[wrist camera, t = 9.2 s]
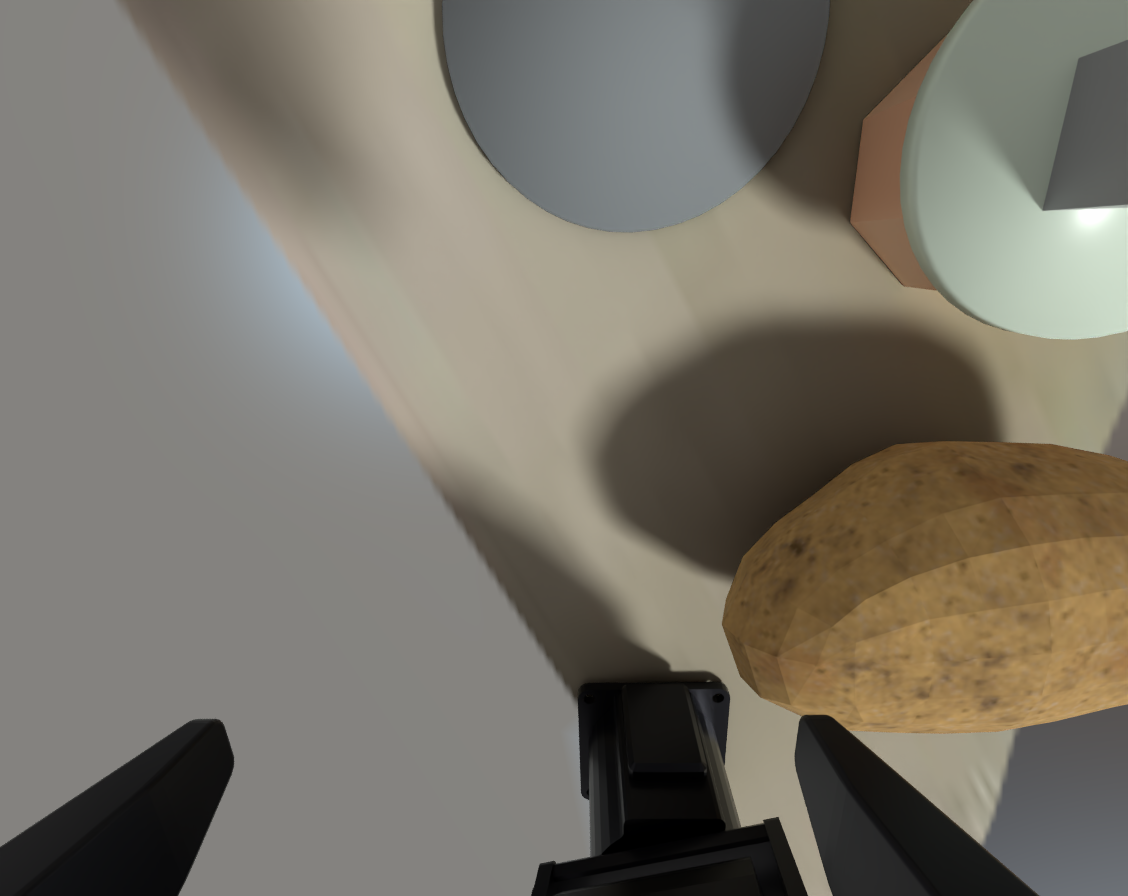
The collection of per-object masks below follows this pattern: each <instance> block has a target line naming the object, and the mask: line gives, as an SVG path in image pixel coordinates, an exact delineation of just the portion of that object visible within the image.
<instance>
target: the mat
mask: <svg viewBox="0 0 1128 896" xmlns="http://www.w3.org/2000/svg"><path fill="white" fill-rule="evenodd" d="M829 9H830V0H443V2H442V15H443V38H444V44H445V51H446V58H447V65H448V69H449V73H450V77H451V80H452V84H453V88H454V92H455V95H456V97H457V100H458V103H459V105H460V108H461V110H462V113H463V116H464V118H465V120H466V122H467V124H468V126H469V128H470V130H471V132H472V133H473V135H474V137H475V139H476V141H477V143H478V144H479V146H480V147H481V149H482V150H483V151H484V153H485V154H486V156H487V157H488V159H489V160H490V162H491V163H492V164H493V165H494V166H495V168H496V169H497V170H498V171H499V172H500V173H501V174H502V176H503V177H504V178H505V179H506V180H507V181H508V182H509V183H510V184H511V185H512V186H513V187H515V188H516V189H517V190H518V191H519V192H520V193H521V194H523V195H524V196H525V197H526V198H527V199H529V200H530V201H532V202H533V203H535V204H536V205H538V206H539V207H541V208H542V209H544V210H545V211H547V212H549V213H551V214H553V215H555V216H557V217H559V218H561V219H563V220H565V221H568V222H571V223H574V224H577V225H580V226H583V227H586V228H591V229H597V230H603V231H608V232H640V231H649V230H656V229H660V228H664V227H668V226H672V225H676V224H679V223H682V222H684V221H687V220H689V219H692V218H694V217H697V216H699V215H701V214H703V213H705V212H706V211H708V210H710V209H712V208H714V207H715V206H717V205H719V204H721V203H722V202H724V201H725V200H726V199H728V198H729V197H730V196H732V195H733V194H735V193H736V192H737V191H739V190H740V189H741V188H742V187H743V186H745V185H746V184H747V183H748V182H749V181H750V180H751V179H752V178H753V177H754V176H755V175H756V174H757V173H758V172H759V171H760V170H761V169H762V168H763V167H764V166H765V165H766V163H767V162H768V161H769V160H770V159H771V157H772V156H773V155H774V154H775V153H776V152H777V150H778V149H779V147H780V146H781V144H782V143H783V141H784V140H785V138H786V137H787V135H788V134H789V132H790V131H791V129H792V128H793V126H794V124H795V122H796V120H797V118H798V116H799V115H800V113H801V111H802V109H803V107H804V105H805V103H806V101H807V98H808V96H809V93H810V90H811V88H812V85H813V83H814V80H815V78H816V75H817V71H818V68H819V64H820V60H821V57H822V53H823V49H824V45H825V39H826V33H827V26H828V20H829Z"/></svg>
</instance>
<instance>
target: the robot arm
mask: <svg viewBox="0 0 1128 896" xmlns="http://www.w3.org/2000/svg"><path fill="white" fill-rule="evenodd" d="M718 693H719V694H720V695H718V696H714V695H715V694H718ZM589 694H590V695H593V696H592V697H587V696H586V695H589ZM729 705H730V695H729V692H728V689H727V687H726V686H725V684H723V683H720V682H665V683H587V684H584V685H582V686H581V687H580V688H579V690H578V714H579V715H578V716H579V745H580V773H581V794H582V796H583V797H584V798H586V799H588V800H589V803H590V857H587V858H582V859H577V860H572V861H567V862H562V863H557V864H556V862H555V861H551V862H546V863H541V864H540V865H539V868H538V873H537V877H536V881H535V885H534V888H533V890H532V895H531V896H808V895H807V892H806V889H805V887H804V884H803V881H802V879H801V876H800V873H799V871H798V868H797V865H796V863H795V860H794V857H793V855H792V852H791V849H790V847H789V844H788V841H787V839H786V836H785V833H784V831H783V828H782V825H781V823H780V820H779V817H776V818H771V819H766V820H763V822H764V823H761V824H756V825H751V826H746V827H741V825H740V821H739V817H738V814H737V810H736V807H735V803H734V799H733V796H732V792H731V789H730V785H729V781H728V778H727V774H726V771H725V767H724V765H725V753H726V741H727V729H728V717H729ZM795 767H796V772H797V775H798V779H799V782H800V786H801V789H802V793H803V797H804V800H805V804H806V807H807V811H808V814H809V818H810V821H811V825H812V828H813V832H814V835H815V839H816V842H817V846H818V849H819V853H820V856H821V860H822V863H823V867H824V870H825V873H826V877H827V880H828V883H829V886H830V889H831V892H832V895H833V896H1039V895H1038V894H1037V893H1036V892H1035V891H1033V890H1032V889H1031V888H1030V887H1029V886H1028V885H1026V884H1025V883H1024V882H1023V881H1022V880H1021V879H1020V878H1018V877H1017V876H1016V875H1015V874H1014V873H1013V872H1011V871H1010V870H1009V869H1008V868H1007V867H1006V866H1004V865H1003V864H1002V863H1001V862H1000V861H999V860H998V859H996V858H995V857H994V856H993V855H992V854H990V853H989V852H988V851H987V850H986V849H985V848H984V847H982V846H981V845H980V844H979V843H978V842H977V841H976V840H974V839H973V838H972V837H971V836H970V835H969V834H967V833H966V832H965V831H964V830H963V829H962V828H960V827H959V826H958V825H957V824H956V823H955V822H954V821H952V820H951V819H950V818H949V817H948V816H947V815H945V814H944V813H943V812H942V811H941V810H940V809H938V808H937V807H936V806H935V805H934V804H933V803H932V802H930V801H929V800H928V799H927V798H926V797H925V796H923V795H922V794H921V793H920V792H919V791H918V790H916V789H915V788H914V787H913V786H912V785H911V784H910V783H908V782H907V781H906V780H905V779H904V778H903V777H901V776H900V775H899V774H898V773H897V772H896V771H894V770H893V769H892V768H891V767H890V766H889V765H887V764H886V763H885V762H884V761H883V760H882V759H881V758H879V757H878V756H877V755H876V754H875V753H874V752H872V751H871V750H870V749H869V748H868V747H867V746H865V745H864V744H863V743H862V742H861V741H860V740H859V739H857V738H856V737H855V736H854V735H853V734H852V733H850V732H849V731H848V730H847V729H846V728H845V727H843V726H842V725H841V724H840V723H839V722H838V721H837V720H835V719H834V718H833V717H831V716H829V715H803V716H802V717H801V719H800V721H799V727H798V734H797V741H796V749H795ZM233 768H234V755H233V752H232V749H231V746H230V742H229V739H228V736H227V733H226V730H225V726H224V724H223V723H222V722H221V721H220V720H218V719H195V720H192V721H189V722H188V723H186V724H185V725H183V726H182V727H180V728H179V729H177V730H176V731H174V732H173V733H171V734H170V735H168V736H167V737H165V738H163V739H162V740H160V741H159V742H157V743H156V744H155V745H153V746H151V747H150V748H148V749H147V750H145V751H144V752H142V753H141V754H140V755H138V756H136V757H135V758H133V759H132V760H130V761H129V762H128V763H126V764H124V765H123V766H121V767H120V768H118V769H117V770H115V771H114V772H112V773H111V774H110V775H108V776H106V777H105V778H103V779H102V780H101V781H99V782H97V783H96V784H94V785H93V786H91V787H90V788H88V789H87V790H85V791H84V792H82V793H81V794H79V795H78V796H76V797H75V798H73V799H72V800H70V801H69V802H67V803H66V804H64V805H63V806H61V807H60V808H58V809H57V810H55V811H54V812H52V813H51V814H49V815H48V816H46V817H45V818H43V819H42V820H40V821H38V822H37V823H35V824H34V825H33V826H31V827H29V828H28V829H27V830H25V831H24V832H22V833H21V834H19V835H17V836H16V837H14V838H13V839H11V840H10V841H8V842H7V843H5V844H4V845H2V846H1V847H0V896H178V895H179V893H180V891H181V889H182V887H183V885H184V883H185V881H186V879H187V877H188V874H189V872H190V870H191V868H192V865H193V863H194V861H195V859H196V857H197V854H198V852H199V850H200V847H201V845H202V843H203V840H204V838H205V835H206V833H207V831H208V829H209V826H210V824H211V822H212V819H213V817H214V815H215V812H216V810H217V808H218V805H219V803H220V801H221V798H222V796H223V794H224V791H225V789H226V786H227V784H228V782H229V779H230V777H231V775H232V772H233Z"/></svg>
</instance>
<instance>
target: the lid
mask: <svg viewBox="0 0 1128 896" xmlns="http://www.w3.org/2000/svg"><path fill="white" fill-rule="evenodd" d="M900 202H901V209H902V215H903V221H904V227H905V230H906V233H907V236H908V240H909V243H910V246H911V249H912V251H913V253H914V255H915V257H916V259H917V261H918V263H919V265H920V268H921V269H922V271H923V272H924V274H925V275H926V276H927V278H928V279H929V281H930V282H931V284H932V285H933V286H934V287H935V289H936V290H937V291H938V292H939V293H940V294H941V295H942V296H943V297H944V298H945V299H946V300H947V301H948V302H950V303H951V304H952V305H954V306H955V307H956V308H958V309H959V310H960V311H962V312H963V313H964V314H966V315H968V316H970V317H972V318H974V319H976V320H978V321H980V322H982V323H984V324H987V325H990V326H993V327H996V328H999V329H1002V330H1006V331H1011V332H1016V333H1021V334H1026V335H1031V336H1037V337H1043V338H1049V339H1073V340H1074V339H1085V338H1096V337H1102V336H1107V335H1112V334H1116V333H1121V332H1125V331H1128V0H973V1H972V2H971V4H970V5H969V6H968V7H967V8H966V10H965V11H964V12H963V14H962V15H961V17H960V18H959V19H958V21H957V22H956V23H955V25H954V26H953V28H952V29H951V30H950V32H949V33H948V35H947V36H946V38H945V40H944V41H943V43H942V45H941V46H940V48H939V50H938V52H937V53H936V55H935V57H934V59H933V60H932V62H931V64H930V66H929V68H928V71H927V73H926V75H925V77H924V79H923V82H922V84H921V86H920V88H919V90H918V93H917V96H916V99H915V102H914V105H913V108H912V111H911V114H910V117H909V120H908V124H907V129H906V134H905V139H904V143H903V148H902V157H901V168H900Z"/></svg>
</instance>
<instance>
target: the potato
mask: <svg viewBox="0 0 1128 896" xmlns="http://www.w3.org/2000/svg"><path fill="white" fill-rule="evenodd" d="M722 626H723V629H724V632H725V635H726V637H727V640H728V643H729V646H730V649H731V652H732V654H733V657H734V660H735V663H736V666H737V669H738V671H739V674H740V677H741V678H742V679H743V680H744V681H745V682H746V683H747V684H748V685H749V686H750V687H751V688H752V689H753V690H754V691H755V692H756V693H757V694H758V695H759V696H760V697H761V698H763V699H765V700H768V701H770V702H772V703H774V704H776V705H779V706H781V707H783V708H785V709H787V710H789V711H792V712H794V713H796V714H798V715H800V716H803V715H829V716H831V717H833V718H834V719H835V720H837V721H838V722H839V723H840V724H841V725H842V726H843V727H845V728H846V729H847V730H852V731H873V732H897V733H943V734H945V733H971V732H998V731H1004V730H1009V729H1015V728H1020V727H1025V726H1031V725H1037V724H1042V723H1048V722H1053V721H1058V720H1062V719H1066V718H1070V717H1074V716H1079V715H1083V714H1087V713H1091V712H1095V711H1099V710H1103V709H1107V708H1111V707H1116V706H1121V705H1126V704H1128V462H1127V461H1125V460H1122V459H1119V458H1115V457H1112V456H1109V455H1104V454H1099V453H1094V452H1089V451H1084V450H1079V449H1073V448H1068V447H1063V446H1058V445H1053V444H1035V443H1006V442H966V441H937V442H922V443H907V444H895V445H893V446H891V447H889V448H886V449H884V450H882V451H880V452H878V453H875V454H873V455H871V456H869V457H867V458H864V459H862V460H860V461H858V462H856V463H853V464H852V465H850V466H849V467H848V468H847V469H845V470H844V471H843V472H842V473H840V474H839V475H838V476H837V477H835V478H834V479H833V480H831V481H830V482H829V483H828V484H826V485H825V486H824V487H823V488H821V489H820V490H819V491H818V492H816V493H815V494H814V495H813V496H811V497H810V498H808V499H807V500H806V501H804V502H803V503H802V504H800V505H799V506H798V507H796V508H795V509H793V510H792V511H791V512H789V513H788V514H787V515H785V516H784V517H783V518H781V519H780V520H779V521H777V522H776V523H775V524H774V525H773V526H772V527H771V528H770V529H769V530H768V531H767V532H766V533H765V534H764V535H763V536H762V537H761V538H760V539H759V540H758V541H757V542H756V544H755V545H754V546H753V547H752V548H751V549H750V550H749V551H748V552H747V553H746V554H745V555H744V556H743V557H742V560H741V563H740V565H739V568H738V570H737V573H736V575H735V578H734V580H733V583H732V585H731V588H730V591H729V593H728V596H727V598H726V603H725V609H724V615H723V620H722Z"/></svg>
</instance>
